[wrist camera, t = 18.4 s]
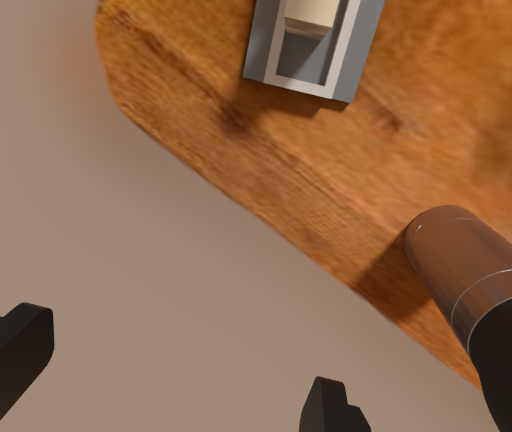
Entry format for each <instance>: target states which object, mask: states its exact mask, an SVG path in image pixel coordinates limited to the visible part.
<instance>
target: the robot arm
mask: <svg viewBox="0 0 512 432" xmlns="http://www.w3.org/2000/svg"><path fill="white" fill-rule="evenodd" d="M403 248H404V252H405V254H406V257H407V258H408V260H409V262H410V263H411V265H412V266H413V268H414V270H415V271H416V273H417V275H418V276H419V278H420V280H421V281H422V283H423V284H424V286H425V288H426V289H427V291H428V292H429V294H430V296H431V297H432V299H433V300H434V302H435V304H436V305H437V307H438V308H439V310H440V312H441V313H442V315H443V316H444V318H445V320H446V321H447V323H448V324H449V326H450V328H451V329H452V331H453V332H454V334H455V336H456V337H457V339H458V340H459V342H460V343H461V345H462V347H463V348H464V350H465V351H466V353H467V355H468V356H469V358H470V359H471V361H472V363H473V365H474V366H475V368H476V370H477V371H478V374H479V377H480V382H481V386H482V390H483V394H484V397H485V400H486V403H487V406H488V408H489V411H490V413H491V415H492V417H493V419H494V421H495V423H496V425H497V427H498V429H499V431H500V432H512V244H511V243H510V242H509V241H507V240H506V239H505V238H503V237H502V236H501V235H500V234H498V233H497V232H496V231H494V230H493V229H492V228H491V227H489V226H488V225H487V224H485V223H484V222H483V221H482V220H480V219H479V218H478V217H476V216H475V215H474V214H473V213H471V212H470V211H468V210H466V209H464V208H461V207H457V206H441V207H436V208H433V209H430V210H428V211H426V212H424V213H422V214H421V215H419V216H418V217H417V218H415V219H414V221H413V222H412V223H411V224H410V225H409V227H408V229H407V230H406V232H405V235H404V239H403ZM53 351H54V325H53V312H52V310H51V309H50V308H46V307H41V306H38V305H34V304H30V303H26V302H25V303H21V304H19V305H18V306H16V307H15V308H14V309H13V310H11V311H10V312H9V313H8V314H7V315H5V316H4V317H0V420H1V419H2V418H3V417H4V415H5V414H6V413H7V412H8V411H9V410H10V408H11V407H12V406H13V405H14V404H15V403H16V401H17V400H18V399H19V398H20V397H21V396H22V394H23V393H24V392H25V391H26V390H27V388H28V387H29V386H30V385H31V384H32V383H33V381H34V380H35V379H36V378H37V377H38V376H39V374H40V373H41V372H42V371H43V369H44V368H45V367H46V366H47V364H48V362H49V361H50V359H51V357H52V354H53ZM299 432H371V428H370V426H369V424H368V422H367V420H366V418H365V417H364V415H363V413H362V411H361V410H360V408H359V407H356V406H352V405H348V403H347V396H346V391H345V386H344V384H343V383H342V382H339V381H335V380H331V379H327V378H323V377H319V376H317V377H316V378H315V380H314V383H313V385H312V388H311V390H310V393H309V395H308V398H307V400H306V402H305V405H304V407H303V410H302V414H301V419H300V426H299Z"/></svg>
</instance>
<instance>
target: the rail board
mask: <svg viewBox="0 0 512 432" xmlns="http://www.w3.org/2000/svg"><path fill="white" fill-rule="evenodd" d="M384 3H385V0H339V3H338V7H337V11H336V15H335V18H334V22H333V26H332V28H331V29H330V31H329V32H328V33H327V35H326V36H325V37H324V38H323V40H322V41H321V40H316V39H312V38H308V37H303V36H299V35H295V34H290V33H287V32H286V26H285V20H284V14H285V9H286V4H287V0H257V2H256V8H255V13H254V19H253V24H252V29H251V35H250V40H249V46H248V51H247V56H246V62H245V67H244V73H243V77H244V78H248V79H252V80H256V81H260V82H263V83H266V84H271V85H275V86H279V87H283V88H287V89H292V90H296V91H300V92H304V93H308V94H312V95H317V96H321V97H325V98H329V99H336V100H340V101H344V102H348V103H352V102H353V99H354V96H355V93H356V90H357V87H358V84H359V81H360V77H361V74H362V71H363V68H364V65H365V62H366V59H367V56H368V52H369V49H370V46H371V43H372V40H373V37H374V34H375V31H376V28H377V24H378V21H379V18H380V15H381V12H382V9H383V6H384Z"/></svg>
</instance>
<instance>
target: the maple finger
mask: <svg viewBox="0 0 512 432" xmlns="http://www.w3.org/2000/svg"><path fill="white" fill-rule="evenodd" d="M338 3H339V0H287V4H286V9H285V14H284V20H285V26H286V32H287V33H290V34H295V35H299V36H303V37H308V38H312V39H316V40H321V41H322V40H323V38H324V37H325V36H326V35H327V33H328V32H329V31H330V29H331V28H332V26H333V22H334V18H335V15H336V11H337V7H338Z"/></svg>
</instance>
